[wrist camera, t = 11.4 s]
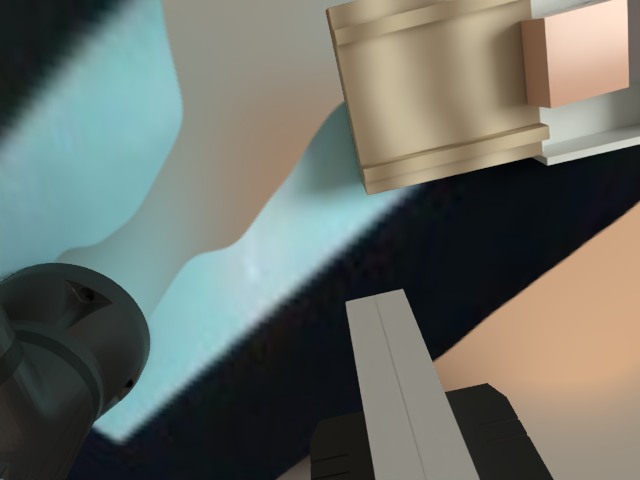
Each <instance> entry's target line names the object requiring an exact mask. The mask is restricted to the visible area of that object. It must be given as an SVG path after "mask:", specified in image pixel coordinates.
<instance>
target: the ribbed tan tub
mask: <svg viewBox="0 0 640 480" xmlns="http://www.w3.org/2000/svg"><path fill="white" fill-rule="evenodd" d="M326 15H327V19H328V24H329V29H330V34H331V38H332V43H333V48H334V52H335V57H336V61H337V66H338V71H339V76H340V80H341V85H342V90H343V94H344V100H345V104H346V109H347V114H348V118H349V123H350V128H351V133H352V137H353V142H354V147H355V151H356V156H357V161H358V166H359V170H360V175H361V180H362V183H363V186H364V188H365V190H366V193H367V195H371V194H376V193H380V192H384V191H388V190H393V189H397V188H401V187H405V186H410V185H414V184H418V183H422V182H427V181H431V180H435V179H439V178H444V177H448V176H452V175H456V174H461V173H465V172H469V171H473V170H478V169H482V168H486V167H490V166H495V165H499V164H503V163H507V162H512V161H516V160H520V159H524V158H529V157H533V156H537V155H541V154H543V149H542V141H543V140H548V139H550V133H549V126H548V125H546V124H543V123H540V112H539V107H538V106H532V105H528V102H527V90H526V79H525V68H524V57H523V45H522V34H521V23H520V21H521V20H525V19H529V18H532V13H531V0H358V1H354V2H350V3H346V4H342V5H338V6H334V7H331V8H328V9H327V10H326Z"/></svg>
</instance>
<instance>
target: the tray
mask: <svg viewBox="0 0 640 480" xmlns="http://www.w3.org/2000/svg"><path fill="white" fill-rule="evenodd" d="M589 1H591V0H531V13H532V18H533V17H536V16H540V15H544V14H548V13H552V12H556V11H559V10H563V9H567V8H571V7H575V6H579V5H582V4H583V3H586V2H589ZM539 112H540V123H543V124H546V125H548V126H549V133H550V139H548V140H543V141H542V149H543V154H541V155H537V156H533V158H534V159H536V160H538V161H540V162H542V163H544V164H546V165H552V164H556V163H560V162H565V161H569V160H573V159H577V158H582V157H586V156H590V155H595V154H599V153H603V152H607V151H612V150H616V149H620V148H624V147H629V146H633V145H637V144H640V81H638V82H629V87H627V88H623V89H620V90H616V91H613V92H609V93H605V94H602V95H598V96H594V97H591V98H587V99H584V100H580V101H576V102H573V103H569V104H566V105H562V106H558V107H555V108H544V107H539Z"/></svg>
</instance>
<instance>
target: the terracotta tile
mask: <svg viewBox="0 0 640 480" xmlns="http://www.w3.org/2000/svg"><path fill="white" fill-rule="evenodd" d="M520 23H521V34H522V45H523V57H524V68H525V79H526V90H527V102H528V105H532V106H538V107H544V108H555V107H558V106H562V105H566V104H569V103H573V102H576V101H580V100H584V99H587V98H591V97H594V96H598V95H602V94H605V93H609V92H613V91H616V90H620V89H623V88H627V87H629V62H628V12H627V0H598V1H594V2H590V3H586V4H582V5H579V6H575V7H571V8H567V9H563V10H559V11H556V12H552V13H548V14H544V15H540V16H536V17H533V18H529V19H525V20H521V21H520Z"/></svg>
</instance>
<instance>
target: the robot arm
mask: <svg viewBox="0 0 640 480" xmlns="http://www.w3.org/2000/svg"><path fill="white" fill-rule="evenodd" d="M346 308H347V314H348V320H349V326H350V332H351V338H352V343H353V349H354V355H355V361H356V367H357V373H358V379H359V385H360V391H361V396H362V402H363V408H364V411H363V412H358V413H353V414H349V415H344V416H339V417H335V418H330V419H325V420H321V421H319V423H318V425H317V427H316V429H315V431H314V433H313V435H312V438H311V440H310V460H311V480H553V478H552V476H551V474H550V473H549V471H548V469H547V467H546V466H545V464H544V462H543V460H542V459H541V457H540V455H539V453H538V452H537V450H536V448H535V446H534V445H533V443H532V441H531V439H530V437H528V436H527V432H526V430H525V429H524V427H523V425H522V423H521V422H520V420H518V417H517V415H516V413H515V411H514V409H513V408H512V406H511V404H510V402H509V401H508V399H507V397H505V396H504V395H503V394H501V393H500V392H499V391H497V390H496V389H495V388H493V387H492V386H490V385H489V384H488V383H486V384H481V385H477V386H472V387H467V388H463V389H458V390H453V391H449V392H444V390H443V388H442V385H441V382H440V380H439V378H438V375H437V373H436V370H435V368H434V365H433V363H432V360H431V358H430V355H429V353H428V350H427V348H426V345H425V343H424V340H423V338H422V335H421V333H420V330H419V328H418V325H417V323H416V321H415V318H414V316H413V313H412V311H411V308H410V306H409V303H408V301H407V298H406V296H405V293H404V291H403V289H401V290H396V291H392V292H387V293H383V294H379V295H374V296H370V297H365V298H361V299H356V300H352V301H348V302H346ZM149 351H150V334H149V329H148V325H147V322H146V320H145V317H144V315H143V313H142V311H141V309H140V308H139V306H138V305H137V303H136V302H135V301H134V299H133V298H132V297H131V296H130V295H129V294H128V293H127V292H126V291H125V290H124V289H123V288H122V287H121V286H119V285H118V284H117V283H115V282H114V281H113V280H111V279H109V278H108V277H106V276H104V275H102V274H100V273H98V272H96V271H93V270H91V269H88V268H85V267H81V266H77V265H72V264H64V263H47V264H40V265H35V266H31V267H28V268H25V269H23V270H20V271H18V272H16V273H15V274H13V275H11V276H10V277H8V278H7V279H6V280H5V281H3V282H2V283H1V284H0V480H65V479H66V477H67V475H68V473H69V471H70V469H71V467H72V465H73V463H74V461H75V459H76V457H77V455H78V453H79V451H80V449H81V447H82V445H83V443H84V441H85V439H86V437H87V435H88V433H89V431H90V429H91V427H92V425H93V424H94V422H95V421H96V420H97V419H99V418H100V417H101V416H102V415H104V414H105V413H106V412H107V411H109V410H110V409H111V408H112V407H113V406H115V405H116V404H117V403H118V402H120V401H121V400H122V399H123V398H124V397H125V396H126V395H127V394H128V393H129V392H130V391H131V390H132V389H133V387H134V386H135V384H136V383H137V381H138V380H139V377H140V375H141V373H142V371H143V369H144V367H145V365H146V362H147V360H148V356H149Z"/></svg>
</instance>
